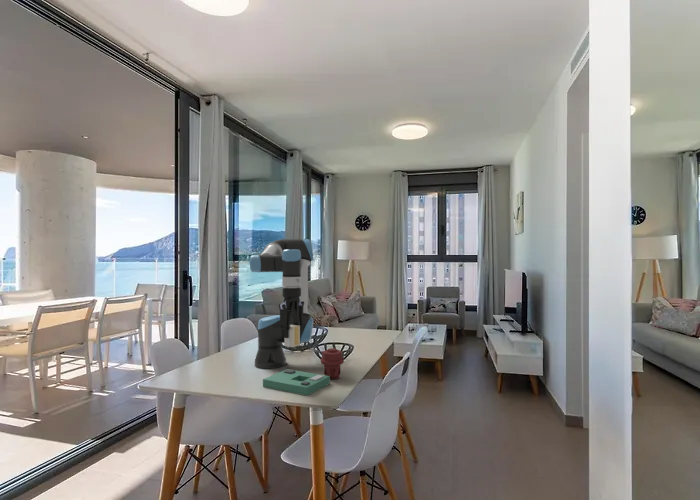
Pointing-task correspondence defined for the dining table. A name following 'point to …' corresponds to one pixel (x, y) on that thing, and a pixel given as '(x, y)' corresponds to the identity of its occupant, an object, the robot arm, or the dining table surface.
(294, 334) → the plug
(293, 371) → the board
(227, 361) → the dining table surface
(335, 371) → the mechanical component
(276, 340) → the robot arm
